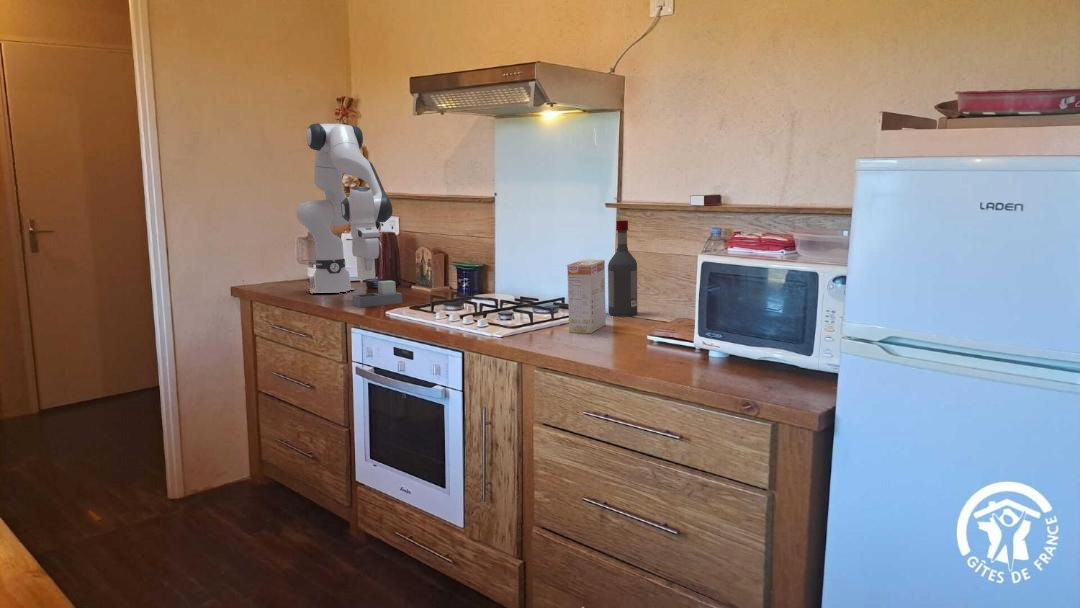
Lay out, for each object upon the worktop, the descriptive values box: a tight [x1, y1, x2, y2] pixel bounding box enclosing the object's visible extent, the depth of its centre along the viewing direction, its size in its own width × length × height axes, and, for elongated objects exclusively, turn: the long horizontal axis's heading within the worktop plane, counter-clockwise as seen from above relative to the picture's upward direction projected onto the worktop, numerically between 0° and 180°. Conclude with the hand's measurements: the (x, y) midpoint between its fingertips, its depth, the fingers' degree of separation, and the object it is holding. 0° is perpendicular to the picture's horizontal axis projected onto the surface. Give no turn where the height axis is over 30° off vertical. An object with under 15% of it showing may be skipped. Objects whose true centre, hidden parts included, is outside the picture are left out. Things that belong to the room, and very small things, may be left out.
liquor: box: [607, 220, 638, 317], centre depth 242 cm, size 9×9×30 cm
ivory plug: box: [356, 257, 377, 281], centre depth 275 cm, size 5×5×8 cm
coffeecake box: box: [566, 258, 607, 334], centre depth 218 cm, size 15×7×20 cm, turn 159°
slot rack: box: [352, 291, 403, 308], centre depth 278 cm, size 8×16×4 cm, turn 121°
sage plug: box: [377, 280, 397, 295], centre depth 280 cm, size 5×5×8 cm
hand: (366, 269), depth 275 cm, fingers closed on ivory plug, 5 cm apart
